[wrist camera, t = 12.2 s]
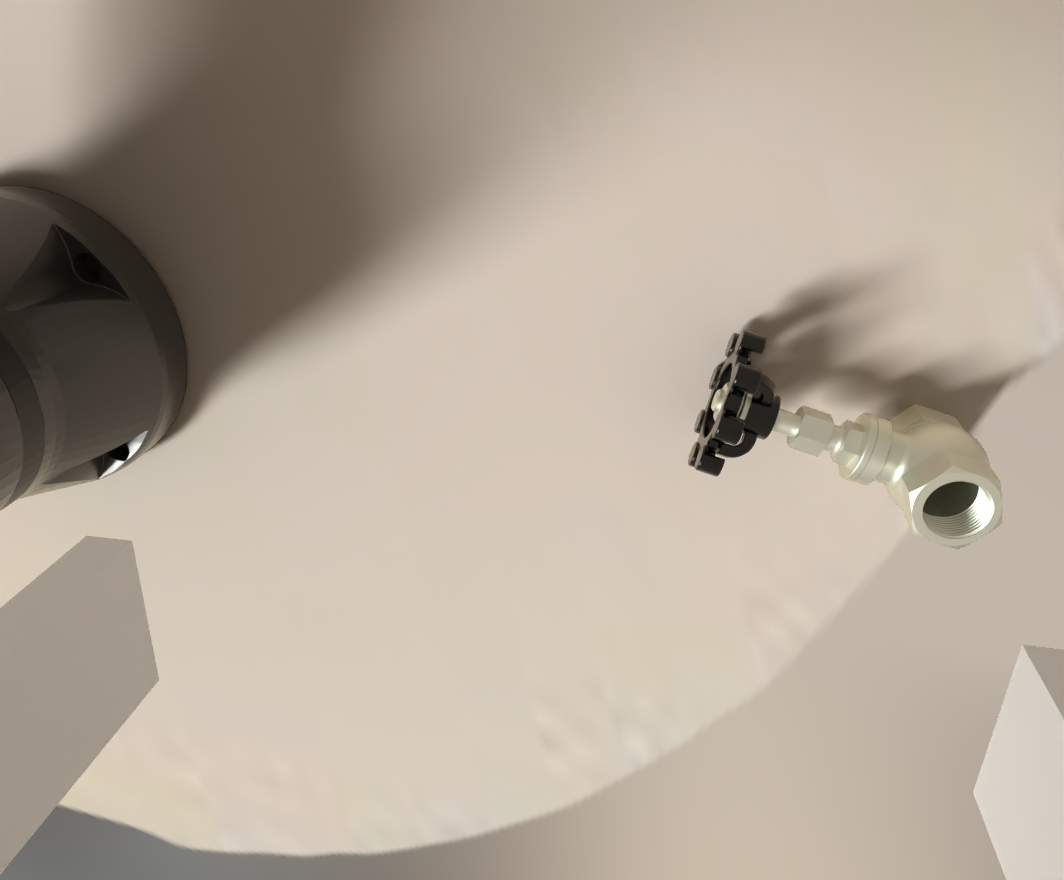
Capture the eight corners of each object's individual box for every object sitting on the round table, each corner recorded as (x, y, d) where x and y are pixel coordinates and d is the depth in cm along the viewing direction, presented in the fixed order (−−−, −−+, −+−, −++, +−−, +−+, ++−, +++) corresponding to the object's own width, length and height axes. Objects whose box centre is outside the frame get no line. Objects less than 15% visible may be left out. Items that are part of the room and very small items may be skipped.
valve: (997, 391, 39) (739, 307, 39) (1052, 455, 33) (748, 355, 33) (926, 513, 42) (687, 433, 42) (966, 591, 36) (687, 499, 36)
